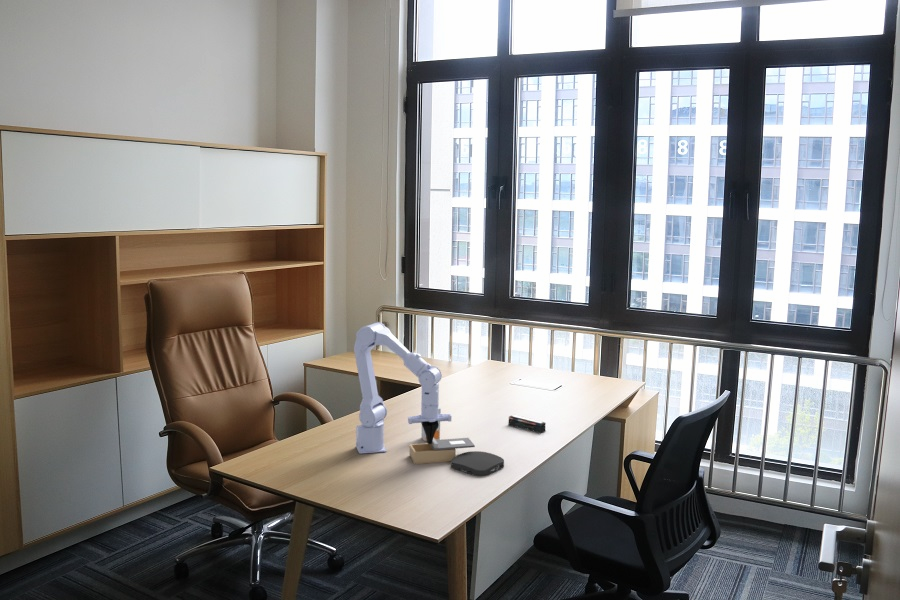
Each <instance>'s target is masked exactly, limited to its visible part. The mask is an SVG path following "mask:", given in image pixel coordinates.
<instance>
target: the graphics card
mask: <svg viewBox="0 0 900 600" xmlns="http://www.w3.org/2000/svg"><path fill="white" fill-rule="evenodd" d="M507 424H508V426H512V427H516V428H520V429H523V430H527V431H530V432H535V433H538V434H543V433H545V432H547V431H546V424H547V423H546V422H544V421H541V420H537V419H535V418H534V419H533V418H529V417H525V416H521V415H516V414H512V415H510V416H508V423H507Z"/></svg>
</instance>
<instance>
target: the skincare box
mask: <svg viewBox="0 0 900 600" xmlns="http://www.w3.org/2000/svg"><path fill="white" fill-rule="evenodd" d="M438 414H441V407H440V406H439V407H438ZM438 424H439V426H438V428H437V430H436V432H435V434H434V439H435V440H441V421H440V422H438ZM421 439H422V441H423V442H427V438H426V434H425V431H424V428H423V426H422V425H421Z"/></svg>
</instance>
